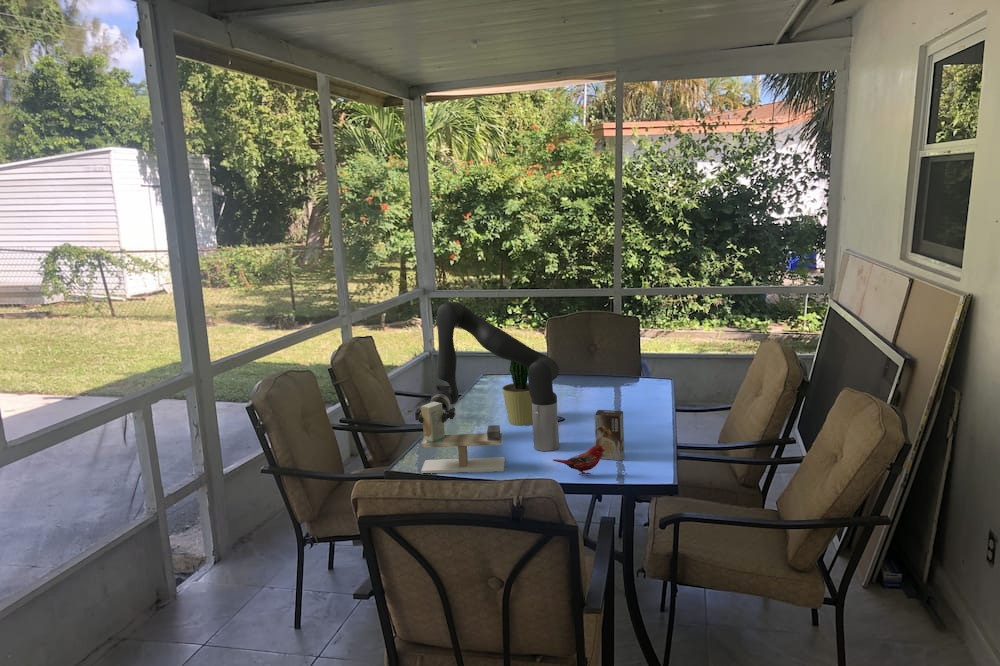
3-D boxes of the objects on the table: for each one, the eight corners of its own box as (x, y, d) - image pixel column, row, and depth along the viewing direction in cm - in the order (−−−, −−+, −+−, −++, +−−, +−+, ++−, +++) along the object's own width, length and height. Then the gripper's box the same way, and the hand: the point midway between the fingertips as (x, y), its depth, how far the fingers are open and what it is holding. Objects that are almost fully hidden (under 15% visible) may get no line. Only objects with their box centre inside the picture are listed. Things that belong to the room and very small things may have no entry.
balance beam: (501, 436, 233) (501, 424, 233) (501, 444, 226) (500, 432, 225) (424, 439, 235) (424, 427, 234) (421, 447, 227) (420, 435, 226)
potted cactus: (496, 423, 279) (492, 352, 273) (520, 413, 290) (517, 345, 284) (524, 429, 268) (520, 356, 263) (548, 420, 279) (545, 349, 274)
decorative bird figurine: (607, 475, 218) (606, 445, 217) (553, 479, 217) (552, 450, 215) (605, 471, 221) (604, 442, 219) (552, 476, 220) (550, 447, 218)
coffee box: (625, 454, 236) (624, 410, 233) (621, 461, 230) (620, 416, 227) (599, 452, 239) (598, 409, 236) (595, 458, 233) (594, 414, 230)
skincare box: (436, 434, 234) (434, 400, 232) (445, 436, 231) (442, 402, 229) (423, 440, 229) (420, 405, 227) (431, 442, 227) (429, 407, 224)
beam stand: (504, 460, 236) (503, 437, 234) (503, 471, 226) (502, 447, 225) (425, 463, 237) (424, 440, 236) (421, 474, 227) (419, 450, 226)
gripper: (418, 397, 243) (410, 410, 227) (457, 396, 242) (452, 408, 226) (419, 417, 244) (411, 431, 228) (459, 416, 243) (453, 430, 227)
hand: (431, 420), depth 227 cm, fingers closed on skincare box, 7 cm apart
